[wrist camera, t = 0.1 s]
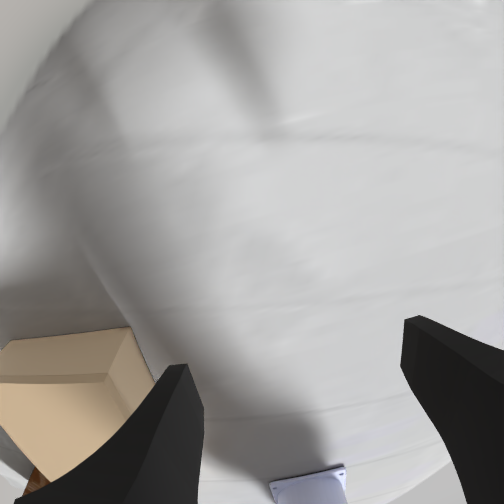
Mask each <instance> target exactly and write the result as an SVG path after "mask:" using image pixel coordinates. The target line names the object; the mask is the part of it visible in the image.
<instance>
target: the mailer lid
mask: <svg viewBox="0 0 504 504" xmlns="http://www.w3.org/2000/svg"><path fill="white" fill-rule="evenodd" d="M130 416H131V413H130V412H129V410H128V408H127V407H126V405H125V403H124V401H123V400H122V398H121V396H120V394H119V392H118V391H117V389H116V387H115V385H114V383H113V381H112V379H111V378H110V376H109V374H108V373H100V374H83V375H60V376H0V425H1V426H2V427H3V429H4V430H5V431H6V433H7V434H8V435H9V436H10V438H11V439H12V440H13V441H14V443H15V444H16V445H17V446H18V447H19V448H20V450H21V451H22V452H23V453H24V454H25V455H26V457H27V458H28V459H29V460H30V461H31V462H32V463H33V464H34V465H35V466H36V468H37V469H38V470H39V471H40V472H41V473H42V474H43V475H44V476H45V477H46V478H47V479H48V480H49V481H50V482H53V481H54V480H56V479H58V478H60V477H61V476H63V475H64V474H66V473H67V472H69V471H70V470H72V469H73V468H75V467H76V466H77V465H79V464H80V463H81V462H83V461H84V460H85V459H86V458H88V457H89V456H90V455H92V454H93V453H94V452H95V451H97V450H98V449H99V448H100V447H101V446H102V445H103V444H104V443H105V442H106V441H107V440H109V439H110V438H111V437H112V436H113V435H114V434H115V433H116V432H117V431H118V429H119V428H120V427H121V426H122V425H123V424H124V423H125V422H126V420H127V419H128V418H129V417H130Z"/></svg>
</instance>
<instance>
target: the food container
mask: <svg viewBox="0 0 504 504" xmlns="http://www.w3.org/2000/svg"><path fill="white" fill-rule="evenodd" d="M49 483H51V482H50V481H49V480H48V479H47V478H46V477H45V476H44V475H43V474H42V473H41V472H40V471H39V470H38V469H37V468H36V466H35V468H34V470H33V472H32V474H31V477H30V479H29V481H28V483H27V486H26V488H25V490H24V493H23V495H22V496H24V495H26V494H29V493H31V492H33V491H35V490H37V489H40V488H42V487H44V486H45V485H47V484H49Z"/></svg>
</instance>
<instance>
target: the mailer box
mask: <svg viewBox="0 0 504 504" xmlns="http://www.w3.org/2000/svg"><path fill="white" fill-rule="evenodd" d="M100 373H108V374H109V376H110V378H111V379H112V381H113V383H114V385H115V387H116V389H117V391H118V392H119V394H120V396H121V398H122V400H123V401H124V403H125V405H126V407H127V408H128V410H129V412H130V413H131V415H132V413H133V412H134V411H135V410H136V409H137V408H138V406H139V405H140V404H141V402H142V401H143V400H144V399H145V397H146V396H147V395H148V393H149V392H150V391H151V389H152V388H153V387H154V385H155V382H154V380H153V378H152V376H151V373H150V371H149V369H148V367H147V365H146V362H145V360H144V358H143V355H142V353H141V351H140V348H139V346H138V344H137V341H136V339H135V337H134V334H133V332H132V329H131V327H123V328H116V329H108V330H101V331H93V332H85V333H77V334H68V335H60V336H51V337H41V338H31V339H21V340H10V341H9V343H8V344H7V345H6V346H5V347H4V348H3V349H2V350H1V351H0V376H60V375H83V374H100Z"/></svg>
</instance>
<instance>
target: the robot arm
mask: <svg viewBox="0 0 504 504" xmlns="http://www.w3.org/2000/svg"><path fill="white" fill-rule="evenodd" d="M400 367H401V369H402V371H403V373H404V376H405V378H406V380H407V382H408V384H409V386H410V388H411V390H412V392H413V393H414V395H415V396H416V398H417V400H418V401H419V403H420V404H421V406H422V407H423V409H424V410H425V412H426V413H427V415H428V417H429V418H430V420H431V421H432V423H433V424H434V426H435V428H436V429H437V431H438V432H439V434H440V436H441V438H442V439H443V441H444V443H445V445H446V448H447V450H448V452H449V454H450V457H451V459H452V461H453V464H454V466H455V469H456V471H457V474H458V477H459V479H460V482H461V485H462V488H463V492H464V495H465V498H466V502H467V504H504V350H501V349H498V348H495V347H493V346H490V345H487V344H485V343H482V342H480V341H477V340H475V339H473V338H470V337H468V336H466V335H464V334H461V333H459V332H457V331H455V330H453V329H450V328H448V327H446V326H444V325H442V324H440V323H438V322H435V321H433V320H431V319H428V318H426V317H423V316H421V315H418V316H415V317H412V318H408V319H405V320H404V333H403V344H402V355H401V364H400ZM203 439H204V407H203V405H202V402H201V399H200V397H199V394H198V392H197V389H196V386H195V384H194V381H193V378H192V376H191V373H190V370H189V367H188V365H187V364H178V365H169V367H168V368H167V369H166V370H165V372H164V373H163V374H162V376H161V377H160V378H159V380H158V381H157V382H156V384H155V385H154V387H153V388H152V389H151V391H150V392H149V393H148V395H147V396H146V397H145V399H144V400H143V401H142V402H141V404H140V405H139V406H138V408H137V409H136V410H135V411H134V412H133V413H132V415H131V416H130V417H129V418H128V419H127V420H126V422H125V423H124V424H123V425H122V426H121V427H120V428H119V429H118V431H117V432H116V433H115V434H114V435H113V436H112V437H111V438H110V439H109V440H107V441H106V442H105V443H104V444H103V445H102V446H101V447H100V448H99V449H98V450H97V451H95V452H94V453H93V454H92V455H90V456H89V457H88V458H86V459H85V460H84V461H83V462H81V463H80V464H79V465H77V466H76V467H75V468H73V469H72V470H70V471H69V472H67V473H66V474H64V475H63V476H61V477H60V478H58V479H56V480H54V481H53V482H51V483H49V484H47V485H45V486H44V487H42V488H40V489H37V490H35V491H33V492H31V493H29V494H26V495H24V496H22V497H20V498H17V499H15V502H14V504H198V484H199V475H200V466H201V457H202V448H203ZM345 484H346V468H345V467H340V468H336V469H332V470H328V471H324V472H320V473H315V474H311V475H306V476H301V477H296V478H291V479H285V480H280V481H273V482H271V483H270V484H269V485H270V489H271V492H272V495H273V497H274V500H275V503H276V504H347V500H346V497H345Z"/></svg>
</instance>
